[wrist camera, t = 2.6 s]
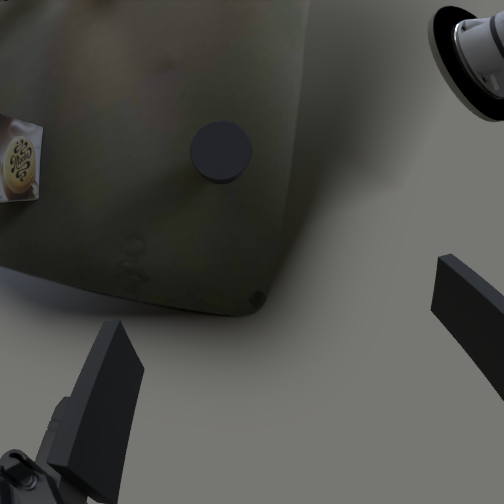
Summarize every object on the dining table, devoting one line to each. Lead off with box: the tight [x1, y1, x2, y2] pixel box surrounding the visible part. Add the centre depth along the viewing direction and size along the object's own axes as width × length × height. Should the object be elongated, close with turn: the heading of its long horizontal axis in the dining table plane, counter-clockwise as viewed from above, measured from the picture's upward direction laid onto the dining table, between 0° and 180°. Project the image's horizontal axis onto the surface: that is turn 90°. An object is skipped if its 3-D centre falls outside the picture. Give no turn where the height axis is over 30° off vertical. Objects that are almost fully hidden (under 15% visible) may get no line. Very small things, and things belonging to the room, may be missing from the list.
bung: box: [190, 121, 252, 184], centre depth 27 cm, size 5×5×10 cm
